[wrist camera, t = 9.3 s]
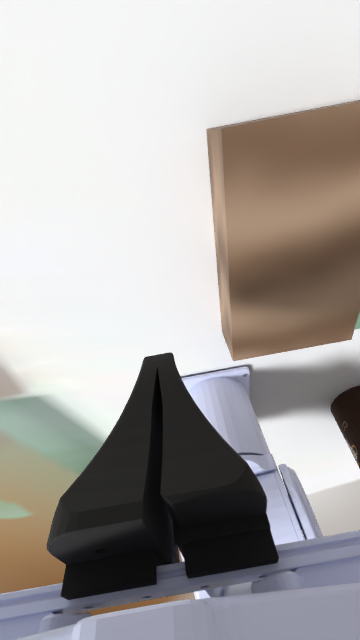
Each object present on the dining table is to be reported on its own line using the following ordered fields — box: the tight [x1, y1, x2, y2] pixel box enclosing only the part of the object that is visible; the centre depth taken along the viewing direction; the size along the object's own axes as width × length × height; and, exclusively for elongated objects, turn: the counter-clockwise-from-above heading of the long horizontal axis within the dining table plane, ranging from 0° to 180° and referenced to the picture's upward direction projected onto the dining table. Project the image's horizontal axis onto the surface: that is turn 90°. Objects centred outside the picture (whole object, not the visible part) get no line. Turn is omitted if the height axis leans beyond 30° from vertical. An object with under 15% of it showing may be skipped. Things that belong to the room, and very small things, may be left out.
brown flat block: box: [207, 100, 360, 361], centre depth 19 cm, size 16×10×4 cm, turn 9°
